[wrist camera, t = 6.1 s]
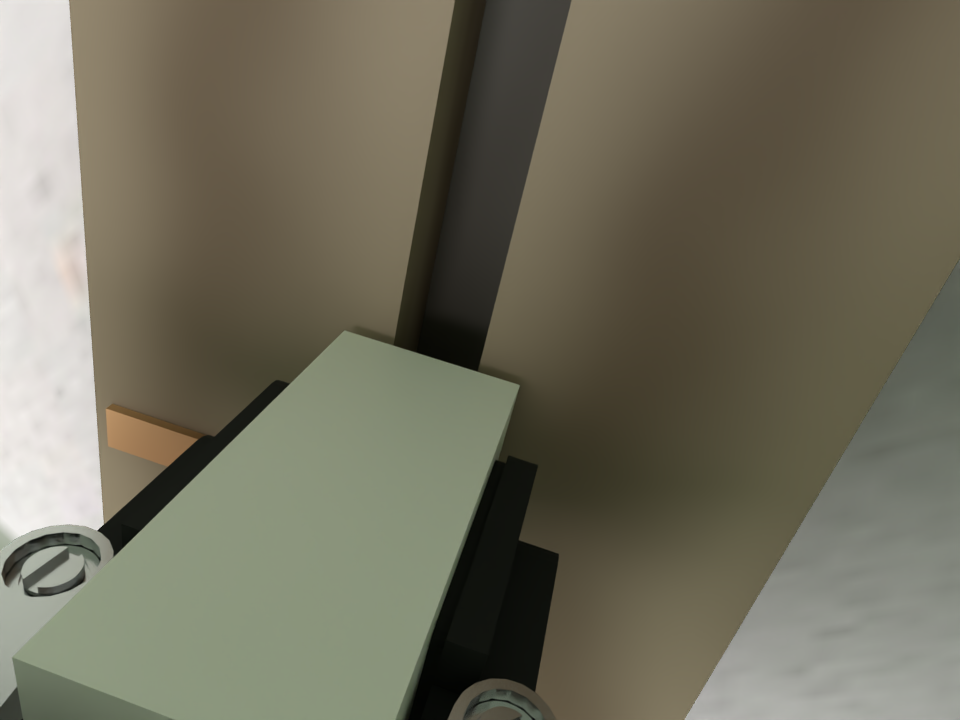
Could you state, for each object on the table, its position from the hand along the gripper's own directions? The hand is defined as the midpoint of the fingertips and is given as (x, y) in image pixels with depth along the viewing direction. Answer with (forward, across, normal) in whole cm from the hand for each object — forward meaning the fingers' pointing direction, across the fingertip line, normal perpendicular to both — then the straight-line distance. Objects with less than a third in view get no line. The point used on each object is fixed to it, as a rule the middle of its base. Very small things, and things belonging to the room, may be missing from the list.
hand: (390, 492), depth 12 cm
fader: (+3, 0, 0) cm, 3 cm away
